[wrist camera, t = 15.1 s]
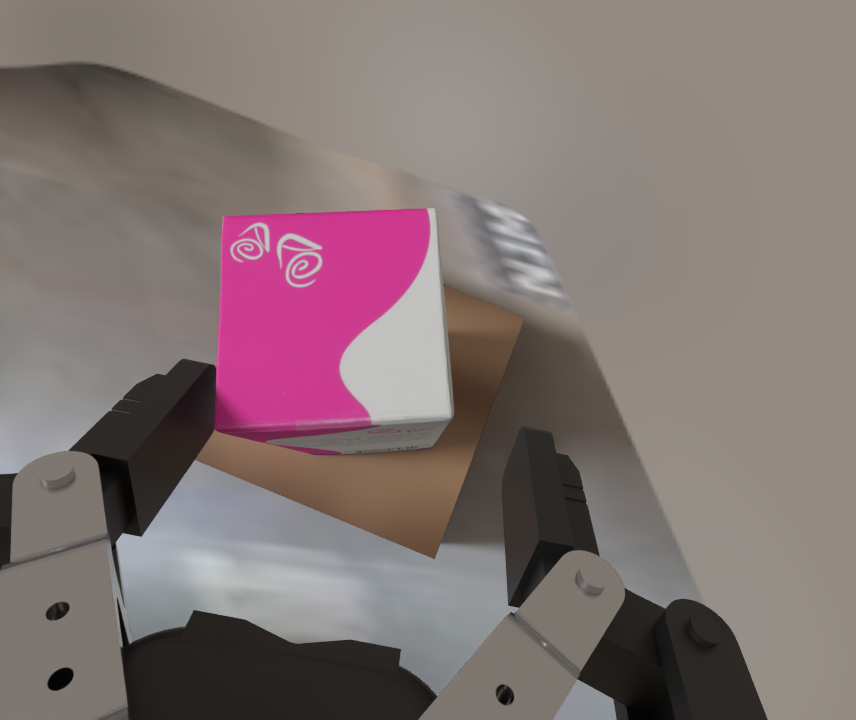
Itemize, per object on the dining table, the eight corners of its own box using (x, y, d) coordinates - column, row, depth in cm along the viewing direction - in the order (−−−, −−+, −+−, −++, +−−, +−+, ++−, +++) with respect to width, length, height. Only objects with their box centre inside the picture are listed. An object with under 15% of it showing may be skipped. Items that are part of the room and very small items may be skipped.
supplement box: (426, 325, 24) (445, 201, 13) (434, 449, 23) (461, 434, 12) (304, 330, 24) (215, 207, 13) (305, 456, 23) (207, 447, 11)
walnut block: (427, 541, 27) (434, 559, 22) (222, 456, 27) (184, 455, 22) (503, 342, 29) (524, 318, 25) (315, 265, 30) (299, 226, 25)
